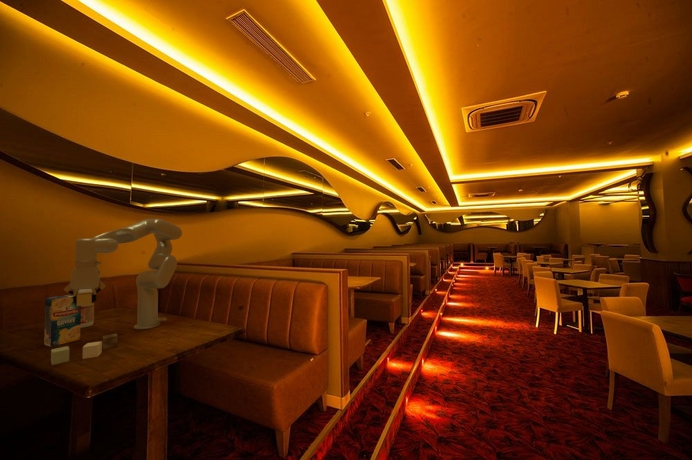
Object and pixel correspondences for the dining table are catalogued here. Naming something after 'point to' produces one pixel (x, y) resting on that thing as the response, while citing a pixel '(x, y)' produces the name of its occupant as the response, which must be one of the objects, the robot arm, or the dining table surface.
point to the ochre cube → (84, 299)
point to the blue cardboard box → (61, 320)
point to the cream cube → (92, 349)
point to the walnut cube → (110, 341)
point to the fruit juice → (87, 311)
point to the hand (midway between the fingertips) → (85, 303)
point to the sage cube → (59, 355)
